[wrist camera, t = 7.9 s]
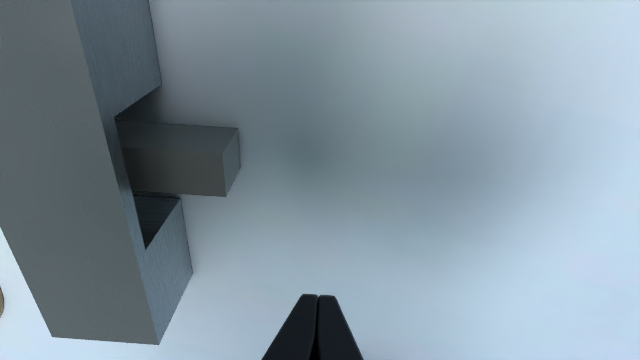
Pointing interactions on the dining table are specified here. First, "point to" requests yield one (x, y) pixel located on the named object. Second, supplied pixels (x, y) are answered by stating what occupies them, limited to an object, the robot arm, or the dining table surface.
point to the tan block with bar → (179, 157)
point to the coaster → (1, 303)
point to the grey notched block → (84, 171)
